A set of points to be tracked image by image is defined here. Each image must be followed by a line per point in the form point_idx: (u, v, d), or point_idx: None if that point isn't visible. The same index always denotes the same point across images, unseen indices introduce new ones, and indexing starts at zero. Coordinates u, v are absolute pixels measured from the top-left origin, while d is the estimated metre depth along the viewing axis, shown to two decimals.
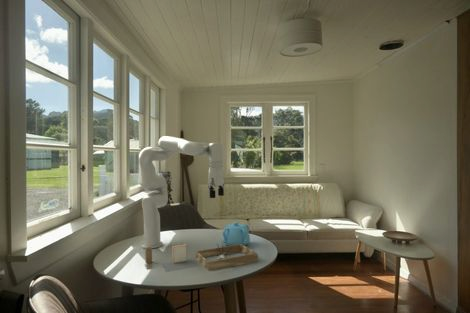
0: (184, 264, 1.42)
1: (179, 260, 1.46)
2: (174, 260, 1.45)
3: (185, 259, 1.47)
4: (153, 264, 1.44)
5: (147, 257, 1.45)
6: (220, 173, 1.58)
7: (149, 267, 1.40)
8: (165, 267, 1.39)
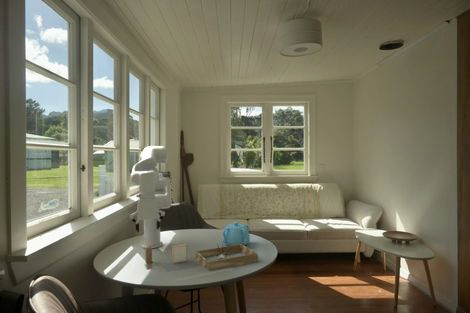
0: (184, 264, 1.42)
1: (179, 260, 1.46)
2: (174, 260, 1.45)
3: (185, 259, 1.47)
4: (153, 264, 1.44)
5: (147, 257, 1.45)
6: None
7: (149, 267, 1.40)
8: (165, 267, 1.39)
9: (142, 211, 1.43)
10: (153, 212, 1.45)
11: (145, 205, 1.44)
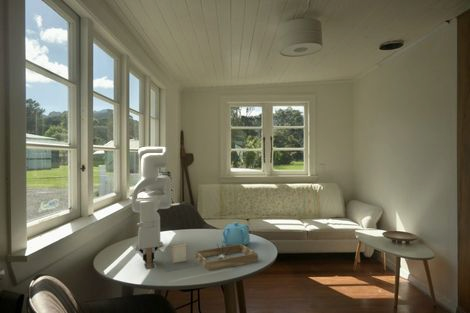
0: (184, 264, 1.42)
1: (179, 260, 1.46)
2: (174, 260, 1.45)
3: (185, 259, 1.47)
4: (153, 264, 1.44)
5: (147, 257, 1.45)
6: None
7: (149, 267, 1.40)
8: (165, 267, 1.39)
9: (143, 240, 1.43)
10: (154, 241, 1.45)
11: (146, 234, 1.44)
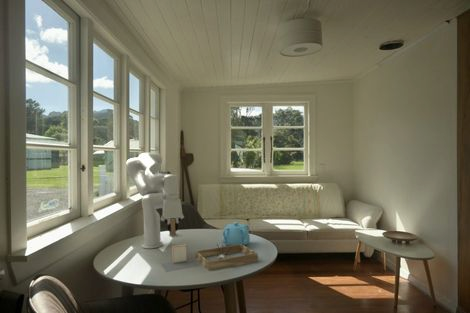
0: (184, 264, 1.42)
1: (179, 260, 1.46)
2: (174, 260, 1.45)
3: (185, 259, 1.47)
4: (177, 233, 1.57)
5: (171, 228, 1.58)
6: None
7: (174, 235, 1.52)
8: (165, 267, 1.39)
9: (167, 211, 1.56)
10: (177, 212, 1.58)
11: (170, 205, 1.57)
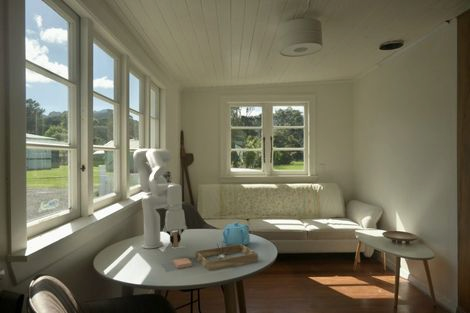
0: None
1: None
2: None
3: None
4: None
5: (174, 240, 1.53)
6: None
7: (177, 246, 1.47)
8: (165, 267, 1.39)
9: (170, 222, 1.50)
10: (180, 223, 1.52)
11: (173, 217, 1.51)
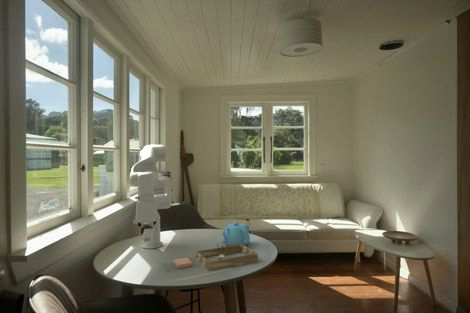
0: None
1: None
2: None
3: None
4: None
5: None
6: None
7: None
8: (165, 267, 1.39)
9: (141, 213, 1.40)
10: (152, 214, 1.42)
11: (144, 207, 1.41)
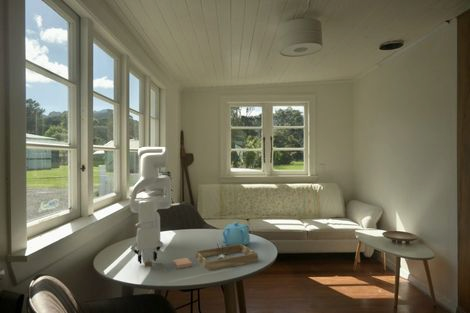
0: None
1: None
2: None
3: None
4: None
5: None
6: None
7: None
8: (165, 267, 1.39)
9: (141, 241, 1.40)
10: (153, 242, 1.42)
11: (145, 235, 1.41)
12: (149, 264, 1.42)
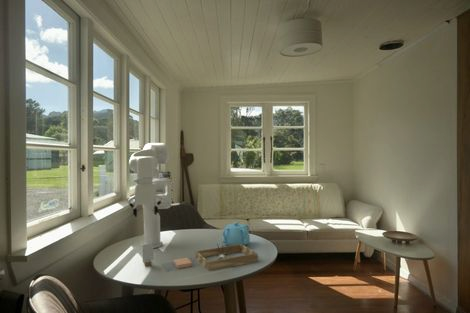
0: None
1: None
2: None
3: None
4: None
5: None
6: None
7: None
8: (165, 267, 1.39)
9: (140, 196, 1.43)
10: (151, 197, 1.45)
11: (143, 190, 1.44)
12: (149, 264, 1.42)
